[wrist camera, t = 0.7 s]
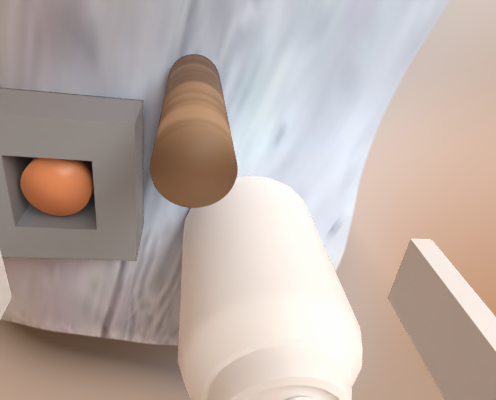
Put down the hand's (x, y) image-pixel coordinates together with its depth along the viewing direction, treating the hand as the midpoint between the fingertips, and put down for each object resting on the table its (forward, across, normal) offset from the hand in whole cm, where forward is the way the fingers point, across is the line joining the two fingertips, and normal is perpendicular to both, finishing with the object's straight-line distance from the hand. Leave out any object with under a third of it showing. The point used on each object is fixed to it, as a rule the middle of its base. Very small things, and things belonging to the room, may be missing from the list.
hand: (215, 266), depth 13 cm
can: (+23, +5, -14) cm, 27 cm away
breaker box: (+23, -11, -8) cm, 26 cm away
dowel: (+23, -1, 0) cm, 23 cm away
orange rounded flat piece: (+20, -11, -8) cm, 24 cm away
